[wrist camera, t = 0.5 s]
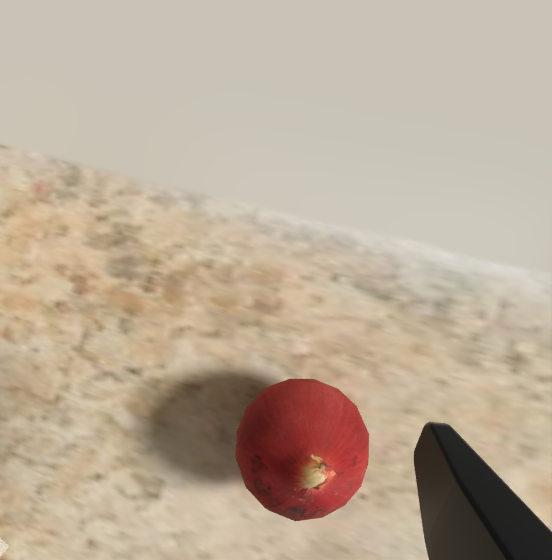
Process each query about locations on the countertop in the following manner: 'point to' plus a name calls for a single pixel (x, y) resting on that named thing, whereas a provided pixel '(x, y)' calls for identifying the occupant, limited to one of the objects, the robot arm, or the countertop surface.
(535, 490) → the countertop surface
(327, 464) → the onion
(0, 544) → the box
